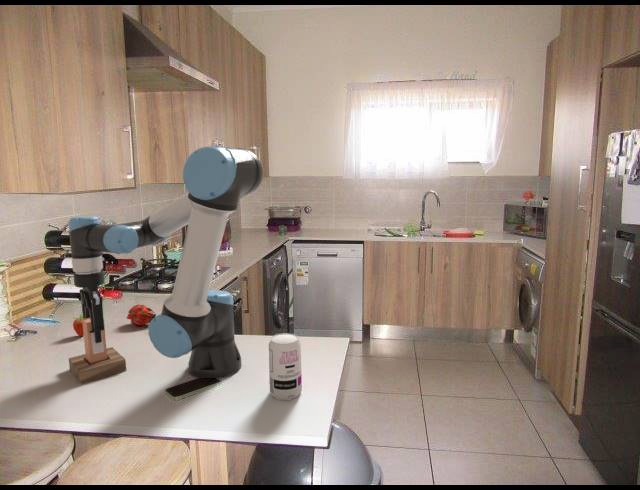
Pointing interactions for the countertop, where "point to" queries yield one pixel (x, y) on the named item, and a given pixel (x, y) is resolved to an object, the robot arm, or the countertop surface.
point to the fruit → (78, 325)
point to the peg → (88, 343)
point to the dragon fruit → (140, 315)
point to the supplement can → (285, 366)
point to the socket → (97, 366)
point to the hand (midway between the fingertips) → (95, 349)
